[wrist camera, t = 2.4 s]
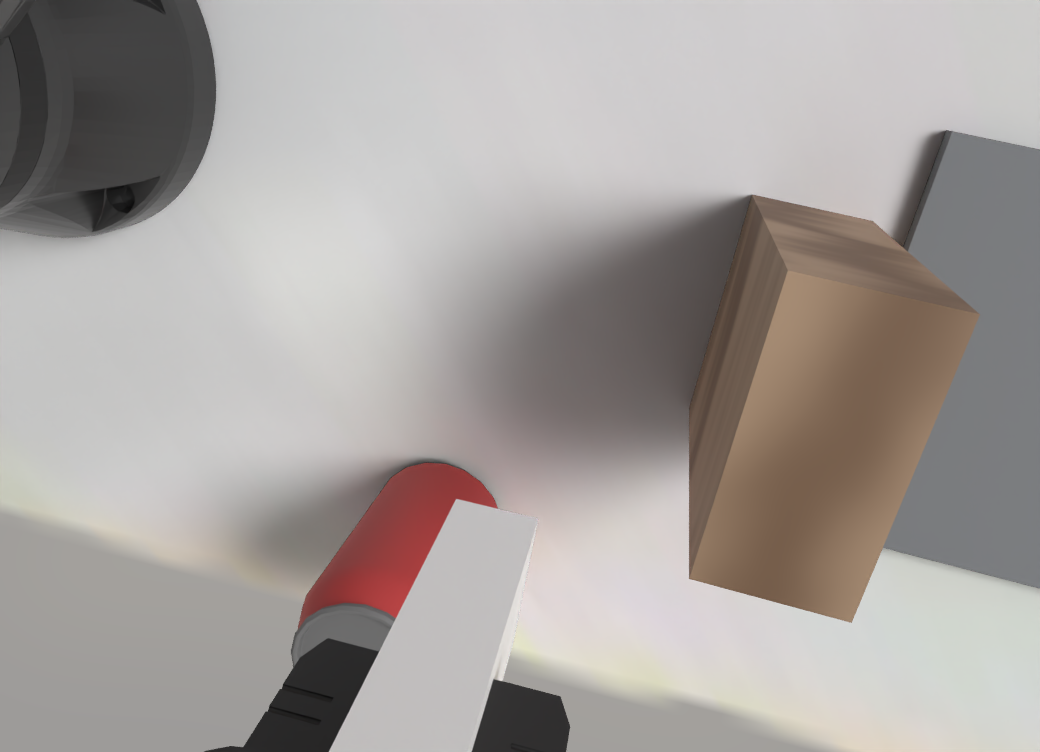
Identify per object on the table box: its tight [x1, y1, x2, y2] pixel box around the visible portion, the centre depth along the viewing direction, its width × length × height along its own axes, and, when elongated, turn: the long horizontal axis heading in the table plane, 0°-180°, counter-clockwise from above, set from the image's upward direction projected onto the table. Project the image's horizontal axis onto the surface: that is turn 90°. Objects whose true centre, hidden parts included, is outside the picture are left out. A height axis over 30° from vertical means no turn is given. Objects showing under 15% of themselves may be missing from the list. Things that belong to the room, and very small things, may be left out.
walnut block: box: [689, 195, 980, 623], centre depth 31 cm, size 5×10×14 cm, turn 169°
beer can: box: [291, 463, 498, 668], centre depth 38 cm, size 7×7×12 cm
